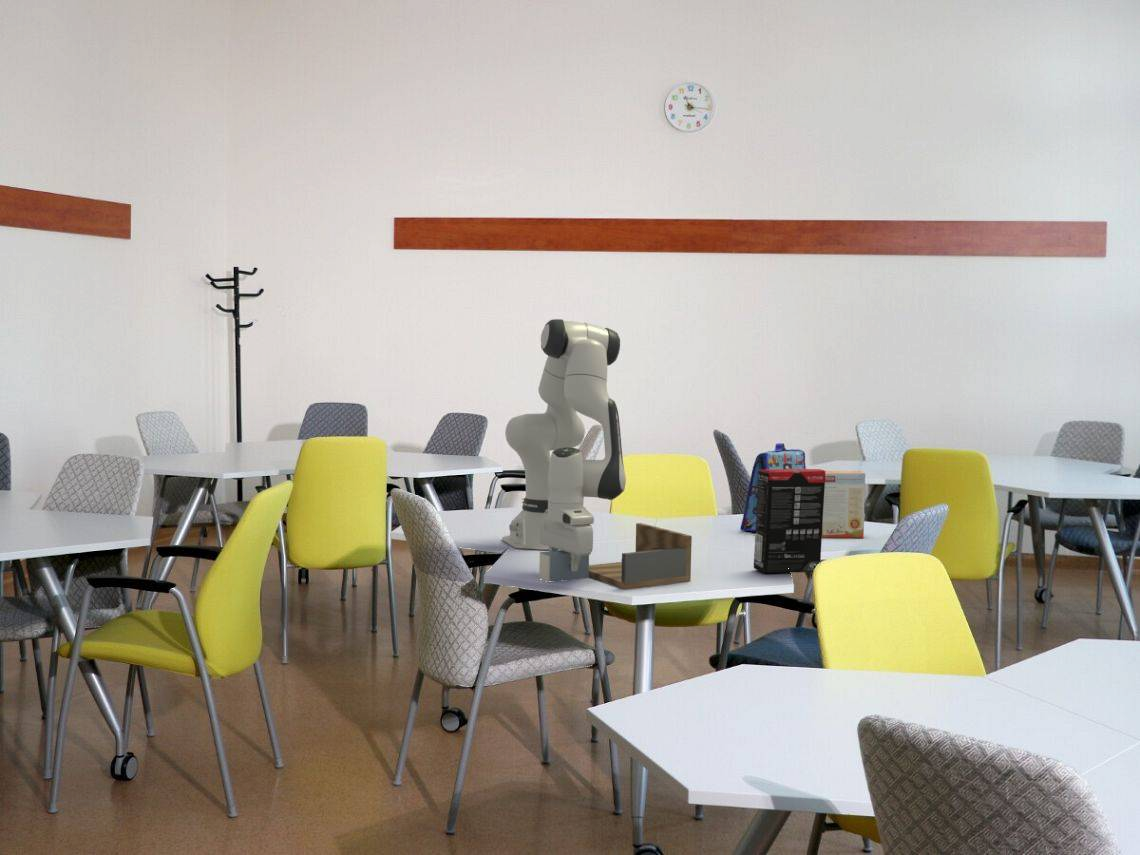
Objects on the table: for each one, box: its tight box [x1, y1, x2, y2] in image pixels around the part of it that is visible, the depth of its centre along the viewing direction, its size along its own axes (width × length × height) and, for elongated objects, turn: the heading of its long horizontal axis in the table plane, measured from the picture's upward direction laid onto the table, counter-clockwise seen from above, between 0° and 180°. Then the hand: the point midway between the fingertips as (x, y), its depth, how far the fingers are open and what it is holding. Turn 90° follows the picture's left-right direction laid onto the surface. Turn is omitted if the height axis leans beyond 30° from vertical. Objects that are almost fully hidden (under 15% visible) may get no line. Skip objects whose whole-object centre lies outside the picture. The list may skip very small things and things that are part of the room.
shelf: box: [589, 522, 693, 590], centre depth 266 cm, size 22×20×12 cm
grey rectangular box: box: [538, 550, 590, 583], centre depth 263 cm, size 4×12×7 cm, turn 121°
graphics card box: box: [753, 468, 826, 574], centre depth 276 cm, size 17×7×27 cm, turn 107°
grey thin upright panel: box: [621, 547, 687, 583], centre depth 257 cm, size 2×18×7 cm, turn 121°
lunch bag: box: [740, 442, 807, 533], centre depth 342 cm, size 22×14×29 cm, turn 131°
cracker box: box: [822, 470, 866, 539], centre depth 332 cm, size 14×6×21 cm, turn 92°
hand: (564, 567), depth 263 cm, fingers open, 7 cm apart
